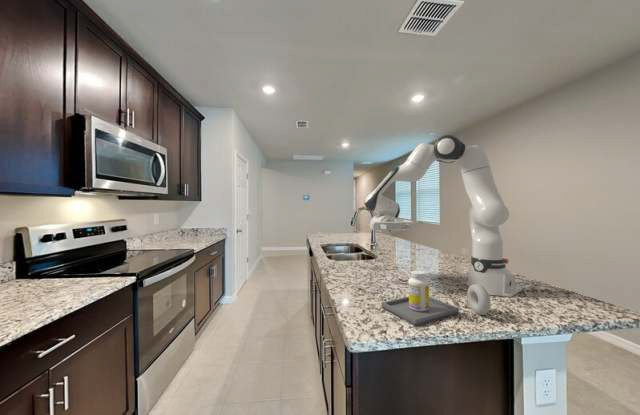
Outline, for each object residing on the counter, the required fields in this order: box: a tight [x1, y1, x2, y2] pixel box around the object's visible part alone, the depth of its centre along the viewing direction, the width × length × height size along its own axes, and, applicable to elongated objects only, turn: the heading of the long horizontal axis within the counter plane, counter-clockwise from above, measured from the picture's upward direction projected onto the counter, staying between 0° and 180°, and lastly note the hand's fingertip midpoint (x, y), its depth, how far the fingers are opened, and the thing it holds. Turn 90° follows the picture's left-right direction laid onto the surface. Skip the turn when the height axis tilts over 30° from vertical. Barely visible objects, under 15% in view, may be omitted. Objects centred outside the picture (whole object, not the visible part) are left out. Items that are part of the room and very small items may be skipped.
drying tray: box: [381, 295, 460, 327], centre depth 89 cm, size 20×16×2 cm
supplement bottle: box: [408, 270, 430, 312], centre depth 89 cm, size 7×7×13 cm
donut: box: [466, 284, 492, 316], centre depth 86 cm, size 10×4×10 cm, turn 179°
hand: (398, 226), depth 110 cm, fingers open, 8 cm apart
